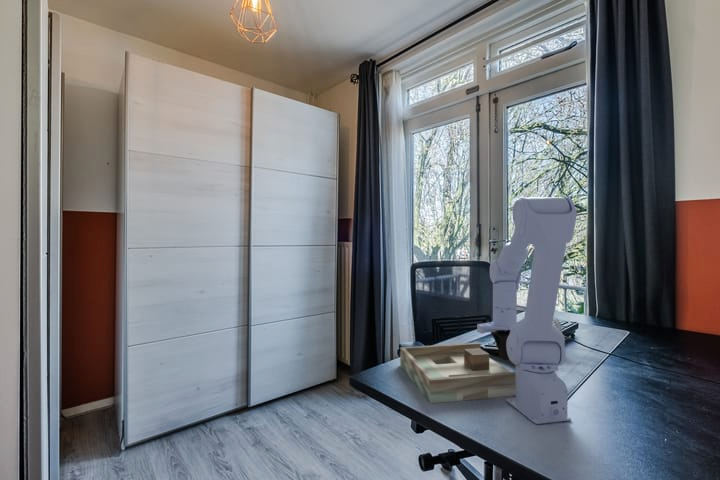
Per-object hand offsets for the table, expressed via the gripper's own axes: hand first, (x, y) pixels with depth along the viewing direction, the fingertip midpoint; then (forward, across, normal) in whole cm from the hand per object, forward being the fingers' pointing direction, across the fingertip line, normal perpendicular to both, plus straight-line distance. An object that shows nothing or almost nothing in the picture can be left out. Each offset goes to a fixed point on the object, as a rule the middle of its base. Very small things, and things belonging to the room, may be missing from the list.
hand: (504, 358), depth 87 cm
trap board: (+4, +13, 0) cm, 14 cm away
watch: (+4, -26, -15) cm, 30 cm away
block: (+2, +8, 0) cm, 8 cm away
